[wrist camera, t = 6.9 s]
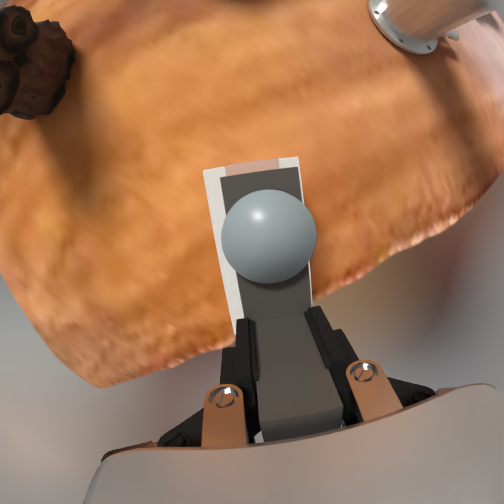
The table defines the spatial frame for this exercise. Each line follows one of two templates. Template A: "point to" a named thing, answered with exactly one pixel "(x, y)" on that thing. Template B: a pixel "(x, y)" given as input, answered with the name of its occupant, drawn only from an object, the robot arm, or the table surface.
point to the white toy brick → (219, 216)
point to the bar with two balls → (279, 300)
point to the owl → (32, 63)
